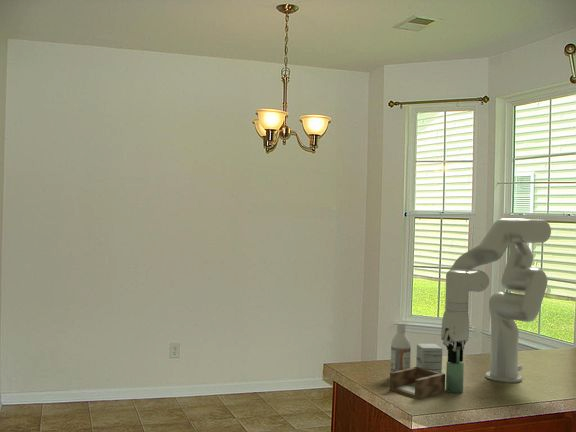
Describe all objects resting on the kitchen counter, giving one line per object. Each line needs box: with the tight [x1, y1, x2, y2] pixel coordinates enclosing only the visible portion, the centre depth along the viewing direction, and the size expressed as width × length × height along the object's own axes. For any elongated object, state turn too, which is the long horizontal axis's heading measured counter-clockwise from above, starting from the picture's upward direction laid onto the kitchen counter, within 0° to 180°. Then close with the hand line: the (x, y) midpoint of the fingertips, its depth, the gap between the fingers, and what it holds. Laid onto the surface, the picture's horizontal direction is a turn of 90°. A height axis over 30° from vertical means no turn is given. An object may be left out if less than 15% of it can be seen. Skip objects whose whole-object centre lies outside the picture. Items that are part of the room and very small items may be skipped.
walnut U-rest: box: [389, 366, 446, 400], centre depth 204 cm, size 14×12×6 cm
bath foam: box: [389, 322, 412, 373], centre depth 220 cm, size 7×7×20 cm
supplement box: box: [415, 343, 443, 373], centre depth 218 cm, size 7×7×13 cm
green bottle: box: [445, 344, 465, 394], centre depth 206 cm, size 6×6×15 cm
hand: (455, 361), depth 206 cm, fingers closed on green bottle, 2 cm apart
